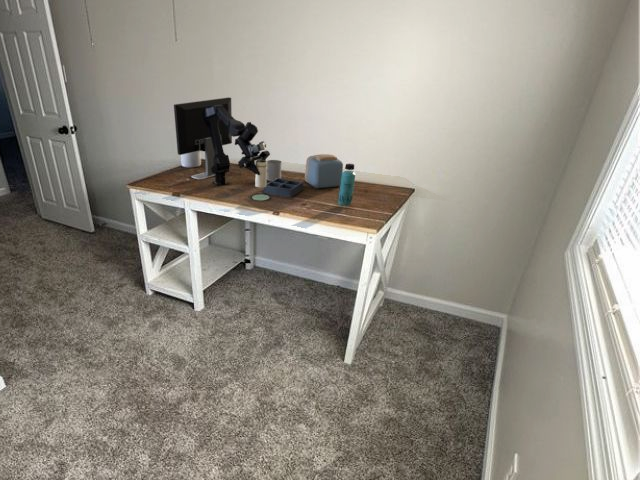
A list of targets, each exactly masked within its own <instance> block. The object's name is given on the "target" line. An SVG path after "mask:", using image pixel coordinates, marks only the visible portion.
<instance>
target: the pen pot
mask: <svg viewBox="0 0 640 480" xmlns="http://www.w3.org/2000/svg"><path fill="white" fill-rule="evenodd" d="M267 161H268V160H267V159H266V160H255V165H256V167H257V169H258V170H259V173H260V175H257V174H255V173H254V174H255V175H254V176H255V180H254V186H255V187H256V188H262V189H263V188H264V187H266V184H267V183H268V180H267Z"/></svg>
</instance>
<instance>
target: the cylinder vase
mask: <svg viewBox="0 0 640 480" xmlns="http://www.w3.org/2000/svg"><path fill="white" fill-rule="evenodd" d="M180 163H181V164H180V165H181V166H182V167H183V168H189V169H193V168H199V167H200V166H201V165H202V155H201V151H200V152H199V151H196V152H191V153H187V154H183V155H180Z"/></svg>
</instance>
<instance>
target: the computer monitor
mask: <svg viewBox="0 0 640 480" xmlns="http://www.w3.org/2000/svg"><path fill="white" fill-rule="evenodd" d="M215 105H223V106H224V108H225V109H226V110H227V112H228V113H229V114H230V115H231V116H232V117H233V115H232V97H230V96H229V97H221V98H213V99H212V98H211V99H205V100H198V101H190V102H183V103H182V102H181V103H175V104H173V113H174V124H175V125H174V126H175V135H176V136H175V138H176V149H177V155H179V156H181V155H183V154H187V153H191V152H196V151H199V152H200V153H201V152H204V158H205V159H204V160H205V171H204V172H201V173H198V174H194V175H191V178H193V179H195V180H204V179H207V178H212V177H215V174H214V173H212V172H211V168H212V166H213V165H214V162H213V160H214V156H215V153H214V148H213V144H212V139H211V135H210V130H209V127H208V126H207V124H206V123H205V122H204V119H203V116H202V112H203V110H204V109H206V108H211V107H213V106H215ZM218 128H219V133H220V137H221V142H222V146H226V145H227V146H228V145H230V144H233V136H232V135H231V134H230V132H229V131H228V126H227V125H226V124H225V123H224V122H223V121H222V120H221V119H220V118H219V122H218Z"/></svg>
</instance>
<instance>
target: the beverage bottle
mask: <svg viewBox="0 0 640 480" xmlns="http://www.w3.org/2000/svg"><path fill="white" fill-rule="evenodd" d="M344 169H345V170H343V173H342V178H341V184H340V186H339V191H338V198H337V203H338V205H341V206H346V207H347V206H350V205H351V204H352V201H353V196H354V190H355V189H354V188H355V181H356V176H357V175H356V173H355V172H354V170H355V164H354V163H345V166H344Z"/></svg>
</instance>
